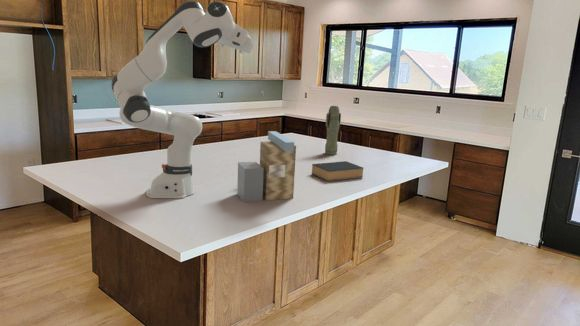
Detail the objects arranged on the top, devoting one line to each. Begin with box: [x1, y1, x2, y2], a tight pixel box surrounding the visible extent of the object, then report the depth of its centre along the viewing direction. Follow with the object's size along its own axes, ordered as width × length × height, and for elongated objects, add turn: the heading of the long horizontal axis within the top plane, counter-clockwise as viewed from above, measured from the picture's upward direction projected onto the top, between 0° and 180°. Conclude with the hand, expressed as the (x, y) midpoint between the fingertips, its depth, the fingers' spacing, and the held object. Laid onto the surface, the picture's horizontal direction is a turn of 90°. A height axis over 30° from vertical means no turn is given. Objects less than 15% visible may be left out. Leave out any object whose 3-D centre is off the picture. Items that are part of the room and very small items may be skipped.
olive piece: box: [324, 105, 342, 156], centre depth 316 cm, size 9×12×35 cm
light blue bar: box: [267, 130, 295, 151], centre depth 206 cm, size 4×26×4 cm, turn 20°
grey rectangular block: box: [236, 161, 264, 203], centre depth 208 cm, size 9×13×16 cm
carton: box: [259, 140, 297, 201], centre depth 212 cm, size 14×12×26 cm
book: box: [311, 160, 364, 182], centre depth 257 cm, size 17×25×7 cm
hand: (232, 48), depth 186 cm, fingers open, 8 cm apart
